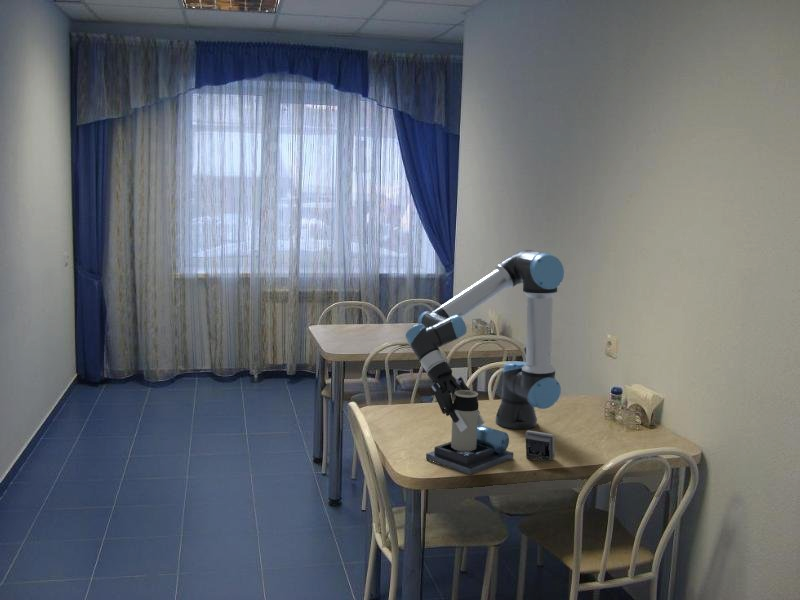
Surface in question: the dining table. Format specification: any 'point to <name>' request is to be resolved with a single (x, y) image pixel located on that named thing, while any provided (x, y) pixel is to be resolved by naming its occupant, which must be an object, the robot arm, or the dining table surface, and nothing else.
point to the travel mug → (469, 413)
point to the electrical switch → (540, 446)
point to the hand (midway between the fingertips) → (473, 427)
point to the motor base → (475, 452)
